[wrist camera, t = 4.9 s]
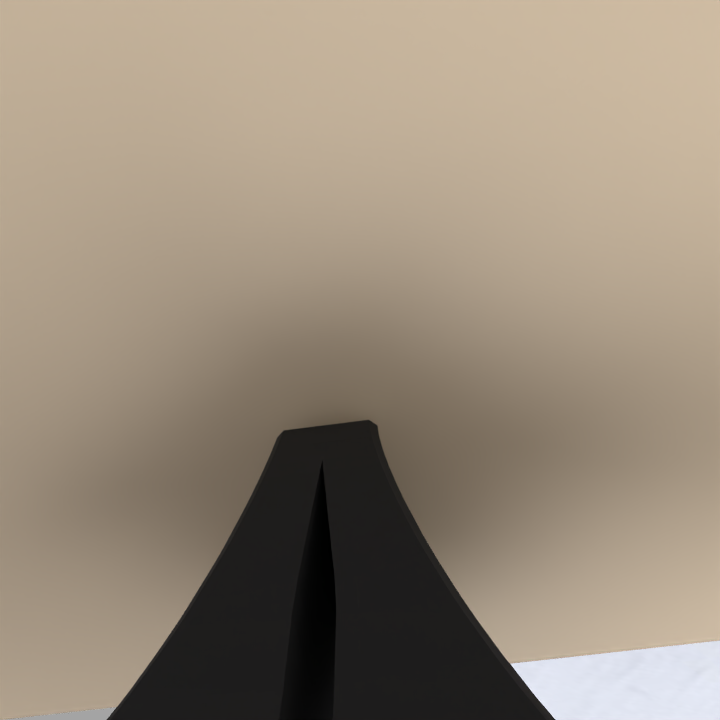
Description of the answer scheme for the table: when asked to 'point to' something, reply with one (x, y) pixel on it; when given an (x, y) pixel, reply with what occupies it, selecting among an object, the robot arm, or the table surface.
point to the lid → (357, 307)
